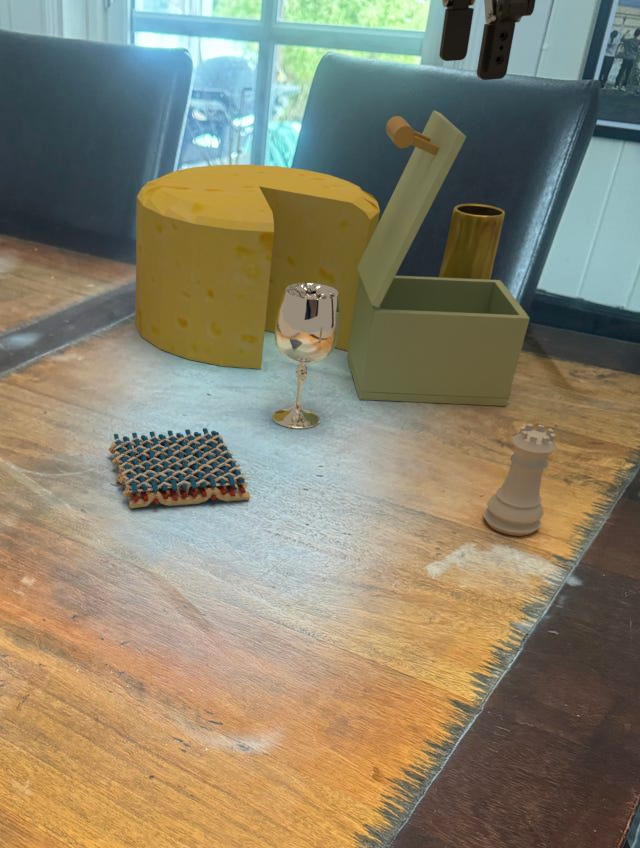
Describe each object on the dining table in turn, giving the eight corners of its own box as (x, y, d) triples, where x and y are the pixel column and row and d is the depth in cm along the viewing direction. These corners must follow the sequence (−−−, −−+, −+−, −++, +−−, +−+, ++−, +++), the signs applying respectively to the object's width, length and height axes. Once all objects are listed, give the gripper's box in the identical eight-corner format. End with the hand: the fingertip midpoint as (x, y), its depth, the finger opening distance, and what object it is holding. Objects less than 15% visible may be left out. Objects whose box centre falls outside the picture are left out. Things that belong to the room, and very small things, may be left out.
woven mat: (126, 513, 75) (126, 491, 74) (106, 453, 83) (106, 432, 82) (252, 504, 77) (254, 481, 76) (220, 446, 85) (222, 425, 84)
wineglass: (319, 436, 87) (338, 305, 80) (259, 425, 89) (272, 296, 81) (331, 411, 92) (350, 285, 84) (273, 402, 93) (287, 277, 86)
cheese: (345, 382, 97) (369, 229, 88) (105, 350, 102) (104, 202, 93) (370, 304, 117) (392, 172, 108) (168, 280, 122) (173, 153, 113)
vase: (444, 330, 110) (472, 199, 102) (488, 346, 107) (521, 212, 98) (411, 341, 107) (437, 207, 99) (455, 358, 104) (487, 220, 95)
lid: (440, 113, 89) (393, 91, 88) (466, 136, 79) (414, 112, 78) (363, 270, 98) (319, 252, 97) (378, 308, 88) (330, 288, 88)
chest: (480, 362, 103) (500, 279, 98) (506, 406, 94) (530, 318, 88) (346, 356, 103) (359, 273, 98) (359, 399, 94) (374, 311, 89)
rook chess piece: (548, 523, 76) (578, 431, 71) (524, 544, 73) (554, 450, 68) (497, 503, 78) (522, 413, 73) (472, 523, 75) (496, 431, 70)
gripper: (608, -195, 63) (551, 83, 73) (520, -191, 74) (481, 51, 84) (500, -190, 62) (457, 89, 73) (427, -187, 73) (399, 56, 84)
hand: (470, 68), depth 78 cm, fingers open, 8 cm apart
